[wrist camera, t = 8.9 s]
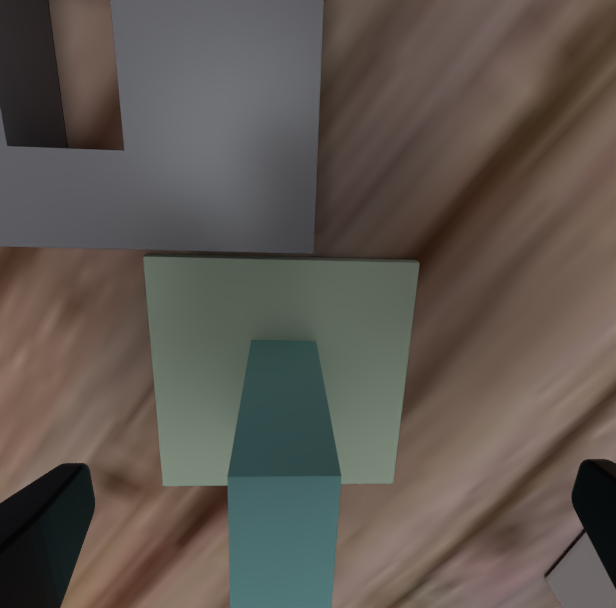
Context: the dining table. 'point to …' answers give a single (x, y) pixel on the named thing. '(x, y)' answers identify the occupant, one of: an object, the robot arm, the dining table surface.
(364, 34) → the dining table surface
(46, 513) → the robot arm
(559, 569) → the milk carton
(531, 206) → the dining table surface
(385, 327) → the mat
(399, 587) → the dining table surface
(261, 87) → the socket block
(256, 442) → the plug
